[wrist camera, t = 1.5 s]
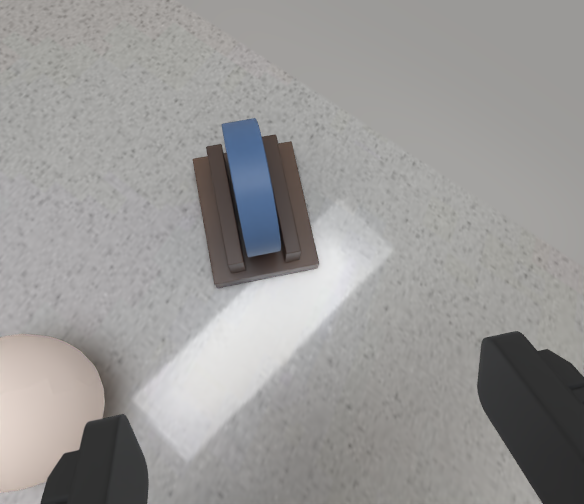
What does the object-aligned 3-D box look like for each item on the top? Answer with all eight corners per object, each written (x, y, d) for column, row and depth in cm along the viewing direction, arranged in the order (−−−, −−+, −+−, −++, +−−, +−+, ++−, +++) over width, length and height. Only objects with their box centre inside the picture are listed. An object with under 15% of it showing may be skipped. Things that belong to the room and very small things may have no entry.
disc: (257, 153, 35) (252, 90, 28) (280, 263, 33) (281, 229, 26) (229, 158, 35) (215, 97, 27) (250, 269, 33) (242, 237, 26)
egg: (-6, 355, 33) (-149, 345, 22) (117, 329, 34) (38, 305, 23) (5, 484, 31) (-145, 544, 20) (135, 453, 32) (58, 495, 21)
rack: (290, 150, 37) (292, 123, 33) (317, 268, 35) (322, 255, 31) (195, 167, 37) (186, 142, 33) (217, 288, 34) (209, 277, 31)
